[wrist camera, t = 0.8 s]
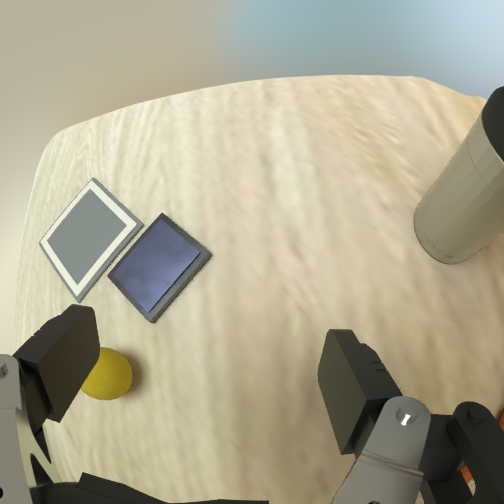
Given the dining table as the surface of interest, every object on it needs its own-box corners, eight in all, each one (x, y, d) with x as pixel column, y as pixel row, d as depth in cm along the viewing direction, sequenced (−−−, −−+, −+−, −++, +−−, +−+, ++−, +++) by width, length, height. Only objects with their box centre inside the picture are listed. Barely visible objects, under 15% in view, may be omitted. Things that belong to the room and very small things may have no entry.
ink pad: (165, 216, 36) (161, 211, 34) (212, 255, 34) (209, 250, 32) (111, 278, 34) (105, 274, 33) (153, 323, 32) (148, 321, 30)
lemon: (148, 357, 30) (111, 355, 23) (139, 403, 29) (100, 412, 21) (108, 343, 31) (66, 336, 24) (99, 386, 30) (56, 389, 22)
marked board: (94, 178, 40) (92, 175, 39) (144, 225, 36) (142, 223, 35) (40, 244, 37) (37, 242, 36) (79, 303, 33) (76, 302, 33)
